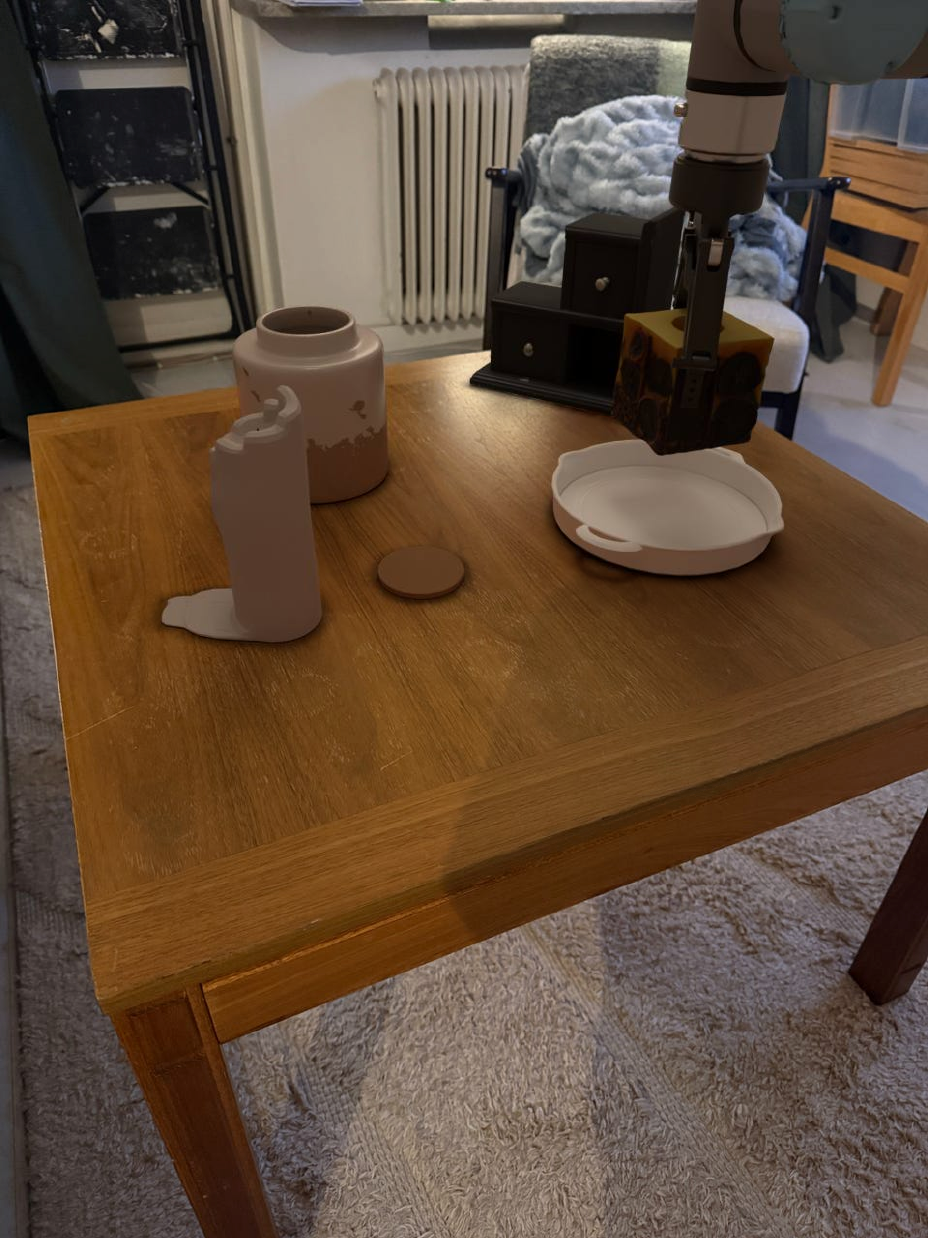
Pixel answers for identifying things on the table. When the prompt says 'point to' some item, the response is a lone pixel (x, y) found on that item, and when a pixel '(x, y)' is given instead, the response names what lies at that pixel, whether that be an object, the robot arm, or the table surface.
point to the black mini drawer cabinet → (582, 311)
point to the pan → (665, 507)
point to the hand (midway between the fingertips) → (677, 407)
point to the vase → (322, 392)
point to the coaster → (420, 572)
